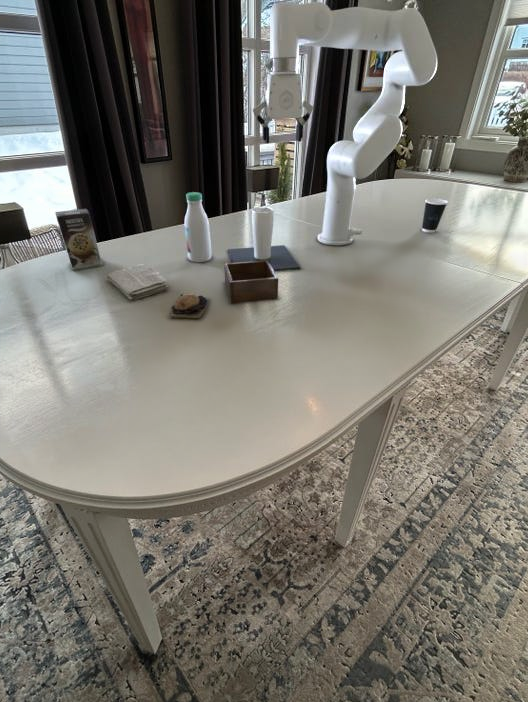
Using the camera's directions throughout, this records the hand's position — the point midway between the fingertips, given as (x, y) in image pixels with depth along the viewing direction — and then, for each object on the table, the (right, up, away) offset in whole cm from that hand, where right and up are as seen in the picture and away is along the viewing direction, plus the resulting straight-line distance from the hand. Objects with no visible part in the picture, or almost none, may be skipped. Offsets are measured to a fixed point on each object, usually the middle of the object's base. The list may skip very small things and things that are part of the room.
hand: (282, 141), depth 108 cm
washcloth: (-42, -43, -3) cm, 60 cm away
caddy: (-9, -45, -6) cm, 46 cm away
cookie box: (-62, -34, +10) cm, 71 cm away
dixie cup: (+60, -14, +36) cm, 71 cm away
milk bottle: (-26, -31, +14) cm, 43 cm away
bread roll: (-25, -51, -14) cm, 58 cm away
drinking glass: (-6, -31, +12) cm, 34 cm away
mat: (-6, -31, +13) cm, 34 cm away
